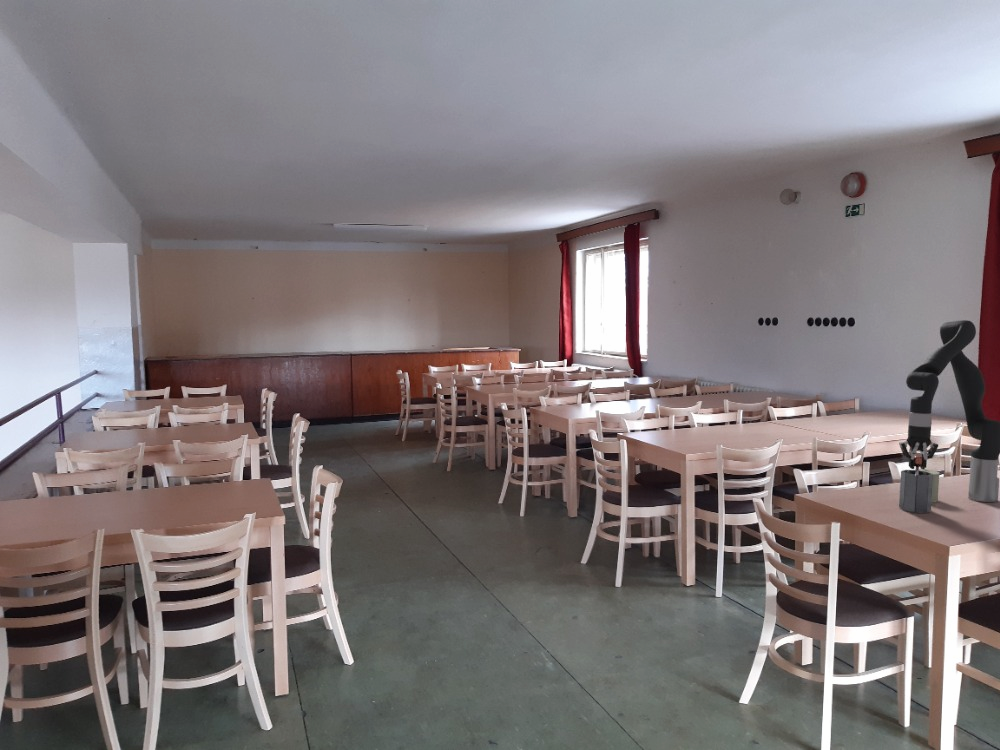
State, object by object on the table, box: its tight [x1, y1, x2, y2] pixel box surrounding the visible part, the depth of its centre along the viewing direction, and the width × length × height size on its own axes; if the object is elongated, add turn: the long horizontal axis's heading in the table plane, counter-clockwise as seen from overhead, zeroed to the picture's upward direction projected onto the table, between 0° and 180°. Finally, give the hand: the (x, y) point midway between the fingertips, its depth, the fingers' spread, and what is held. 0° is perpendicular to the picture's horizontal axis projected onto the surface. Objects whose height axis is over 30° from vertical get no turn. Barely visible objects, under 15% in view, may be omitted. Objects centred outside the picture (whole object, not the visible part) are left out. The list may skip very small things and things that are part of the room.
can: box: [919, 468, 940, 503], centre depth 293 cm, size 9×9×12 cm
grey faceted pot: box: [898, 469, 933, 514], centre depth 279 cm, size 10×12×14 cm
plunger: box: [914, 455, 923, 475], centre depth 277 cm, size 7×7×20 cm
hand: (917, 468), depth 277 cm, fingers closed on plunger, 3 cm apart
